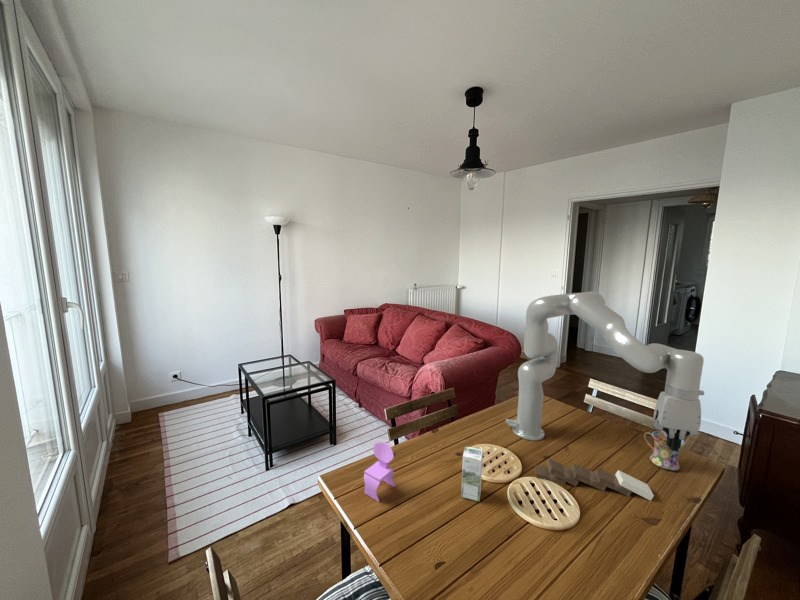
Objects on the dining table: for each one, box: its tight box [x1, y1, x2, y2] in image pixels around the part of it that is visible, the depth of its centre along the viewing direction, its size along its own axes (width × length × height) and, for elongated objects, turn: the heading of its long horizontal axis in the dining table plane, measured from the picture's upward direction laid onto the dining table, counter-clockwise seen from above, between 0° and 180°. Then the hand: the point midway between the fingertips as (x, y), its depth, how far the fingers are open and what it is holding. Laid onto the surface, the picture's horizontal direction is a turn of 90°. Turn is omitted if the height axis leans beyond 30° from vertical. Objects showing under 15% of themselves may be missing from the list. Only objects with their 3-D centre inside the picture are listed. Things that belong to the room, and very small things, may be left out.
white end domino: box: [614, 469, 655, 501], centre depth 104 cm, size 2×5×9 cm
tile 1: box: [594, 467, 633, 497], centre depth 106 cm, size 2×5×9 cm
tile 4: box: [534, 464, 567, 485], centre depth 111 cm, size 2×5×9 cm
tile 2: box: [571, 463, 607, 492], centre depth 108 cm, size 2×5×9 cm
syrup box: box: [460, 446, 484, 503], centre depth 102 cm, size 6×6×14 cm
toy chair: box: [363, 441, 396, 503], centre depth 103 cm, size 8×9×15 cm
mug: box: [643, 430, 686, 471], centre depth 118 cm, size 12×9×11 cm
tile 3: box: [546, 457, 580, 487], centre depth 109 cm, size 2×5×9 cm
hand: (672, 448), depth 99 cm, fingers closed
